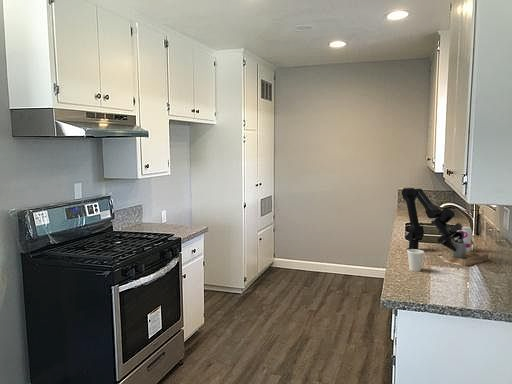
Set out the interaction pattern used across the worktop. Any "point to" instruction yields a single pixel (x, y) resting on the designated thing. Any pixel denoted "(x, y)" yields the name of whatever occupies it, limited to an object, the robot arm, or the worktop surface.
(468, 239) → the sparkling drink can
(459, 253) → the grey knobbed block
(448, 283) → the worktop surface
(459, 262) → the wooden dish rack
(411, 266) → the dixie cup
